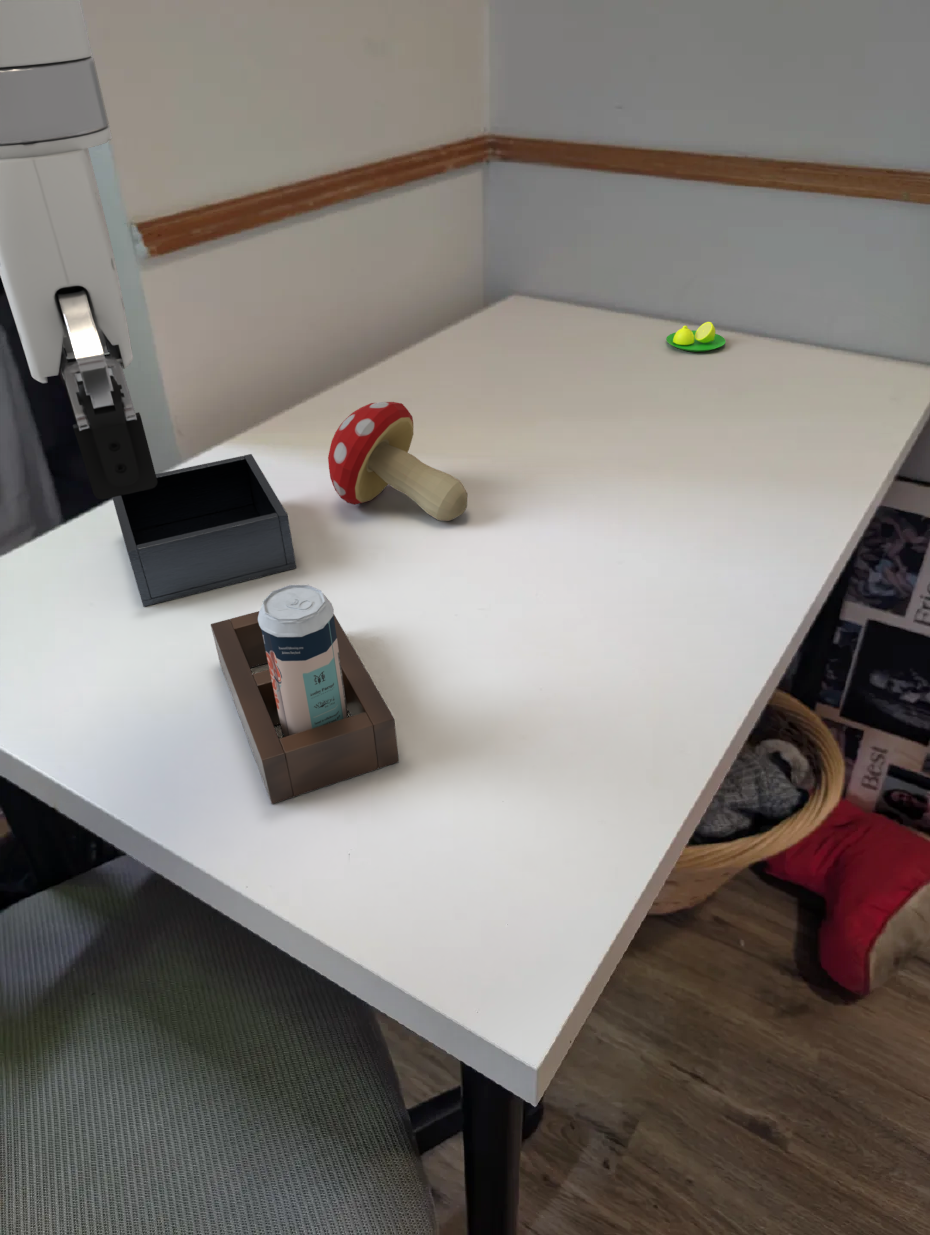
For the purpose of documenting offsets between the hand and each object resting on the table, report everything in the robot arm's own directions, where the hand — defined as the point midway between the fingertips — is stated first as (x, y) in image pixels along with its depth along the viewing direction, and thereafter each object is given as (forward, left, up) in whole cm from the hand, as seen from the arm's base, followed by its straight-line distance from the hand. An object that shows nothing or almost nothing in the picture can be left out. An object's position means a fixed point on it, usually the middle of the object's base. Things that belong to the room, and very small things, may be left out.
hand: (115, 455), depth 52 cm
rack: (+8, 0, -22) cm, 24 cm away
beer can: (+8, -3, -23) cm, 24 cm away
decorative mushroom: (+26, +26, -23) cm, 43 cm away
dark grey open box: (+6, +26, -22) cm, 35 cm away
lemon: (+78, +50, -23) cm, 95 cm away
